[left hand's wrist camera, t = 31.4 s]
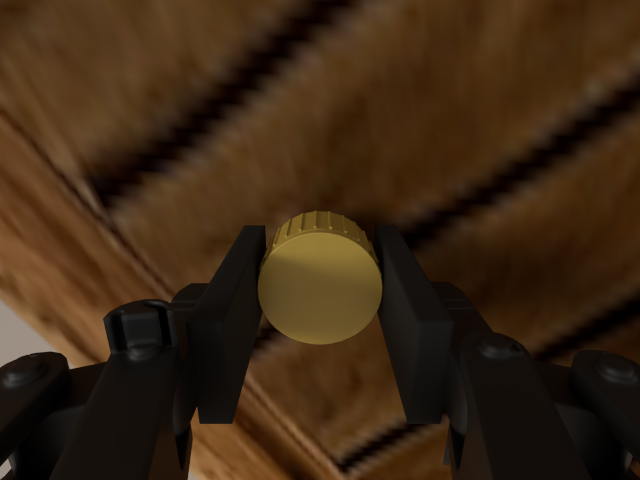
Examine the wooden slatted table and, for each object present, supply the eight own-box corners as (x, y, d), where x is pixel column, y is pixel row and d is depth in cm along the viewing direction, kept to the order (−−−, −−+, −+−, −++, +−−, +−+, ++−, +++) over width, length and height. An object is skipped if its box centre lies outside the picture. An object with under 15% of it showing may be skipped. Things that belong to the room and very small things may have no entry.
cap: (259, 301, 15) (249, 337, 13) (272, 200, 13) (263, 220, 11) (361, 316, 15) (369, 354, 13) (385, 219, 14) (398, 242, 11)
